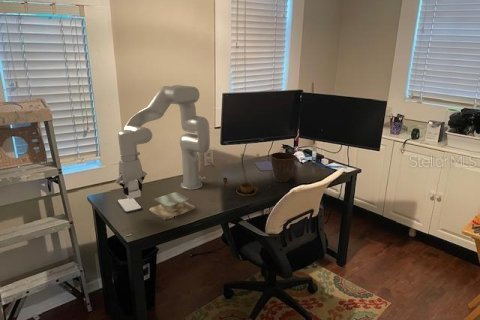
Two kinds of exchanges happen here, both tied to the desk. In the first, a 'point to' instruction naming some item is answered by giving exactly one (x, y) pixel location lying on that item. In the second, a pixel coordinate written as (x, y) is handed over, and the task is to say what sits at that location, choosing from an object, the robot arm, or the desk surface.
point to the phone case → (129, 205)
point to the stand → (171, 205)
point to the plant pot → (282, 165)
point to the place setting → (244, 188)
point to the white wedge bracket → (133, 189)
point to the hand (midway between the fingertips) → (133, 192)
